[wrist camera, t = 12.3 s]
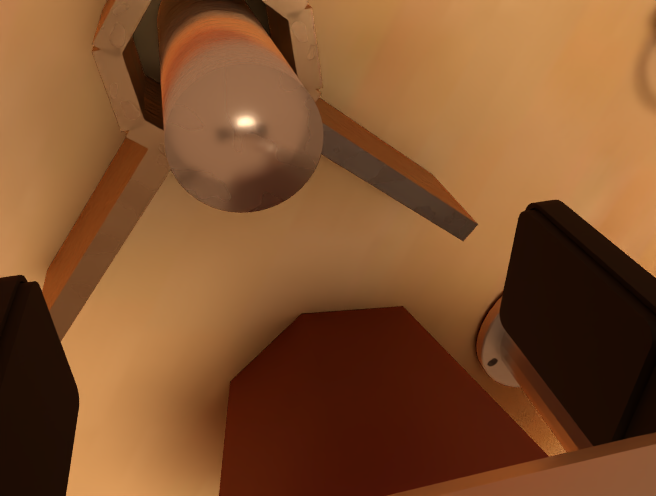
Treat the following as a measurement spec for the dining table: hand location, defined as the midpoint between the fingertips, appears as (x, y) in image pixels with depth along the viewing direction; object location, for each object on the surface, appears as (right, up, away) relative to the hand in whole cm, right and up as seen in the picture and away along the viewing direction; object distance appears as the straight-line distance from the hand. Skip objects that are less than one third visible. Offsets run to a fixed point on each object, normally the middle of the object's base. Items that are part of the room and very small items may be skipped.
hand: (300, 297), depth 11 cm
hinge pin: (-5, +11, +16) cm, 20 cm away
